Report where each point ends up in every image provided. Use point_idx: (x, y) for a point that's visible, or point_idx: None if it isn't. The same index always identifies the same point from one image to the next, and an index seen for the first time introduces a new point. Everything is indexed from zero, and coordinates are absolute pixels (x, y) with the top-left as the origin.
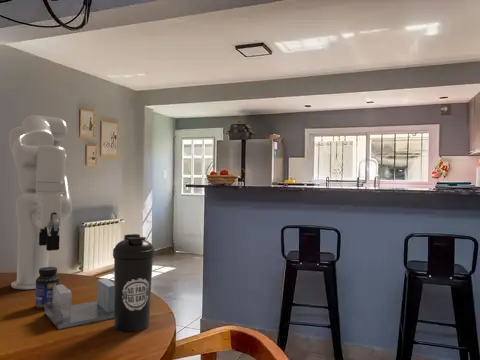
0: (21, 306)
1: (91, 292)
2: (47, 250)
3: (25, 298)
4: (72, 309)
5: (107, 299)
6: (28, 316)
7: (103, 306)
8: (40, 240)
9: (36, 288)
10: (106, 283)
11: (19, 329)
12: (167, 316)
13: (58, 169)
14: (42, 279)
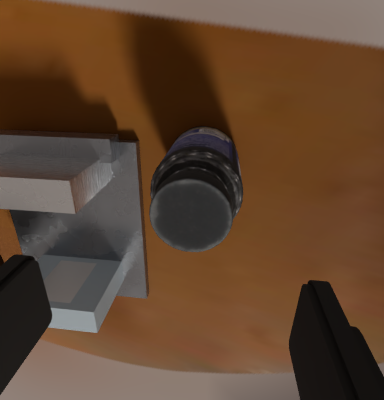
0: (257, 91)
1: (265, 291)
2: (20, 256)
3: (349, 123)
4: (102, 201)
5: None
6: (135, 90)
7: (70, 260)
8: (314, 320)
9: (191, 141)
10: None
11: (29, 42)
12: None
13: None
14: (162, 170)
